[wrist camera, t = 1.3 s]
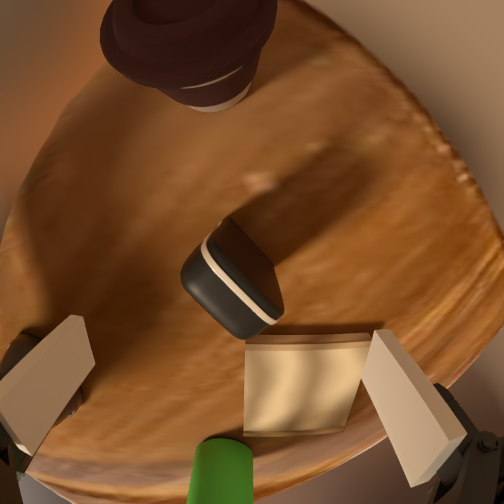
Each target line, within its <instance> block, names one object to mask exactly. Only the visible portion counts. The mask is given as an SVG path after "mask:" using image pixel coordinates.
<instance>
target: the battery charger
mask: <svg viewBox="0 0 504 504" xmlns="http://www.w3.org/2000/svg"><path fill="white" fill-rule="evenodd" d="M180 275H181V283H182V285H183V287H184V288H185V290H186V291H187V292H188V293H189V294H190V295H191V296H192V297H193V298H194V299H195V300H196V301H197V302H198V303H199V304H200V305H201V306H202V307H203V308H204V309H205V310H206V311H207V312H208V313H209V314H210V315H211V316H212V317H213V318H214V319H215V320H216V321H217V322H219V323H220V324H221V325H222V326H223V327H224V328H225V329H226V330H227V331H229V332H230V333H231V334H232V335H233V336H235V337H236V338H238V339H242V340H248V339H251V338H253V337H255V336H256V335H258V334H259V333H260V332H262V331H263V330H264V329H266V328H267V327H268V326H269V325H273V324H275V323H276V322H277V321H279V318H280V317H281V316H282V315H283V314H284V304H283V299H282V295H281V291H280V287H279V284H278V281H277V278H276V274H275V270H274V265H273V263H272V262H271V261H270V260H269V259H268V258H267V257H266V256H265V255H264V254H263V252H262V251H261V250H260V249H259V248H258V247H257V246H256V245H255V244H254V243H253V242H252V241H251V239H250V238H249V237H248V236H247V235H246V234H245V233H244V232H243V231H242V230H241V229H240V228H239V227H238V225H237V224H236V223H235V222H234V221H233V220H232V219H231V218H229V217H226V218H225V219H224V220H221V221H220V222H219V224H218V225H217V226H216V227H215V228H214V230H213V231H212V232H211V233H209V234H208V236H207V237H206V238H205V240H204V241H203V242H202V243H201V244H199V245H198V246H197V247H196V248H195V250H194V251H193V252H192V253H191V254H190V256H189V257H188V258H187V260H186V261H185V263H184V265H183V267H182V270H181V274H180Z"/></svg>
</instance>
